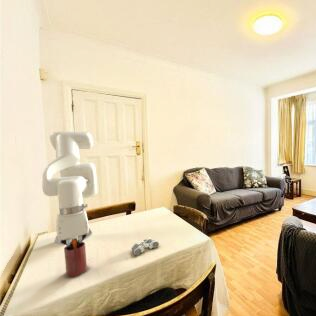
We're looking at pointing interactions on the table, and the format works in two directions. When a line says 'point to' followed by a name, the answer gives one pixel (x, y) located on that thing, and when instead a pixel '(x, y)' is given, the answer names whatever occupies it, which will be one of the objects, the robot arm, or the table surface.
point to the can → (75, 261)
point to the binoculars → (147, 243)
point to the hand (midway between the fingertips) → (75, 252)
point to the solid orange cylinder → (74, 243)
